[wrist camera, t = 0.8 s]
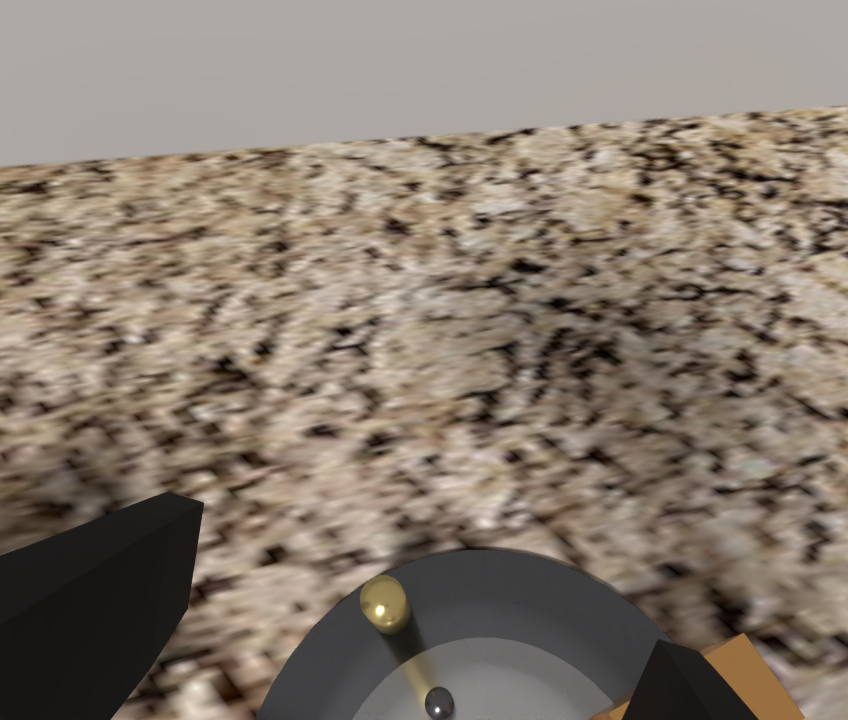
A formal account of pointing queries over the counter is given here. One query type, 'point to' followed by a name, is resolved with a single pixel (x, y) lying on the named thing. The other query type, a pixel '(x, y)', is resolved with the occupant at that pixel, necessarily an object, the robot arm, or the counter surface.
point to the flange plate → (543, 685)
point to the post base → (461, 628)
